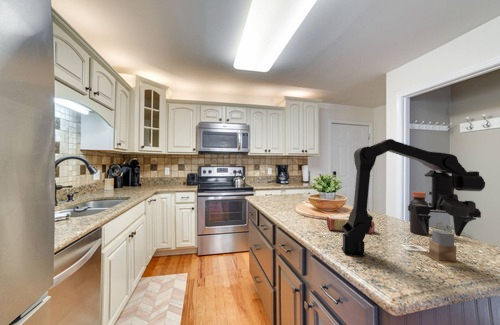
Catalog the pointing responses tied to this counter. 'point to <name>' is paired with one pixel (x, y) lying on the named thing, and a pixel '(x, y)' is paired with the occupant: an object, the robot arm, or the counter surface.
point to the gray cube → (443, 238)
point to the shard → (446, 263)
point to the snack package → (341, 223)
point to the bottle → (414, 222)
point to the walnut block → (442, 251)
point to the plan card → (413, 248)
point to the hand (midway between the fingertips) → (442, 234)
